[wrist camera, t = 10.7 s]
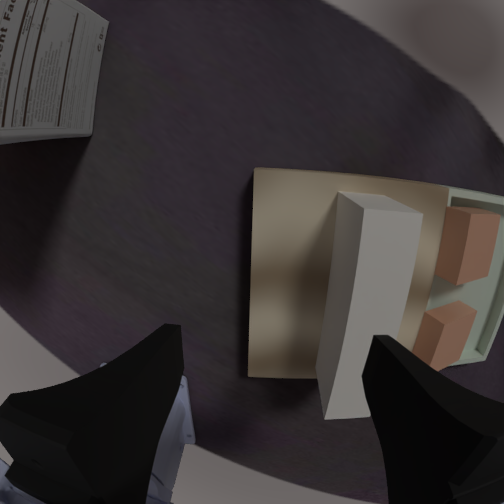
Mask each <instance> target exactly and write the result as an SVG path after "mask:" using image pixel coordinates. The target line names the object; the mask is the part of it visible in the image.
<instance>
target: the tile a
mask: <svg viewBox="0 0 504 504" xmlns="http://www.w3.org/2000/svg"><path fill="white" fill-rule="evenodd" d="M476 314H477V310H475V309H473V308H472V307H470V306H468V305H467V304H465V303H463V302H462V301H460V300H458V301H455V302H452V303H449V304H446V305H443V306H440V307H437V308H434V309H431V310H428V311H425V312H424V316H423V319H422V323H421V326H420V329H419V333H418V336H417V339H416V342H415V345H414V348H413V351H412V353H413V354H414V355H416V356H417V357H418V358H420V359H421V360H422V361H424V362H425V363H426V364H428V365H429V366H430V367H432V368H433V369H435V370H436V371H439V370H441V369H443V368H445V367H447V366H449V365H451V364H452V363H454V362H456V361H458V360H459V359H460V356H461V354H462V351H463V349H464V347H465V344H466V341H467V339H468V336H469V334H470V331H471V328H472V325H473V322H474V320H475V317H476Z"/></svg>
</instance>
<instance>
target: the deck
mask: <svg viewBox="0 0 504 504" xmlns="http://www.w3.org/2000/svg"><path fill="white" fill-rule="evenodd" d="M338 191H341V192H353V193H364V194H375V195H385V196H387V197H389V198H391V199H393V200H395V201H398V202H400V203H402V204H404V205H406V206H408V207H410V208H412V209H414V210H416V211H418V212H420V213H422V214H423V219H422V226H421V232H420V238H419V244H418V250H417V255H416V260H415V266H414V270H413V275H412V280H411V284H410V289H409V293H408V297H407V302H406V306H405V310H404V313H403V317H402V321H401V325H400V328H399V332H398V335H397V339H396V341H398V342H399V343H400V344H402V345H403V346H404V347H405V348H407V349H408V350H409V351H411V352H412V351H413V348H414V345H415V342H416V339H417V336H418V333H419V329H420V326H421V323H422V319H423V316H424V312H425V311H426V307H427V303H428V300H429V296H430V292H431V288H432V284H433V280H434V276H435V274H434V273H435V269H436V264H437V259H438V255H439V250H440V244H441V239H442V233H443V227H444V221H445V214H446V207H447V204H448V196H449V188H447V187H443V186H440V185H437V184H432V183H425V182H418V181H411V180H404V179H396V178H388V177H379V176H370V175H360V174H350V173H339V172H327V171H314V170H298V169H280V168H255V169H254V189H253V221H252V254H251V287H250V320H249V353H248V377H265V378H317V374H316V368H315V366H316V361H317V355H318V350H319V344H320V338H321V332H322V325H323V319H324V312H325V306H326V299H327V291H328V284H329V276H330V268H331V260H332V251H333V242H334V233H335V222H336V212H337V200H338Z"/></svg>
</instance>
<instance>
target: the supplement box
mask: <svg viewBox="0 0 504 504" xmlns="http://www.w3.org/2000/svg"><path fill="white" fill-rule="evenodd" d="M108 24H109V22H108V21H107V20H105V19H104V18H102V17H101V16H99V15H98V14H96V13H95V12H93V11H92V10H90V9H89V8H87V7H85V6H84V5H82V4H81V3H79V2H78V1H76V0H0V145H1V144H9V143H18V142H26V141H35V140H45V139H56V138H71V137H89V136H91V135H92V131H93V120H94V110H95V101H96V93H97V86H98V79H99V72H100V66H101V60H102V54H103V49H104V43H105V38H106V34H107V29H108Z"/></svg>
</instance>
